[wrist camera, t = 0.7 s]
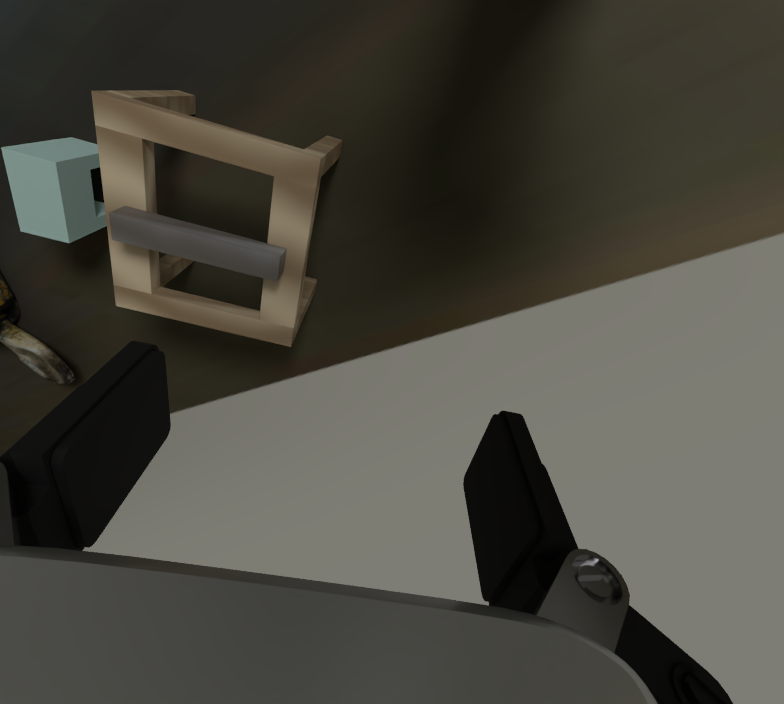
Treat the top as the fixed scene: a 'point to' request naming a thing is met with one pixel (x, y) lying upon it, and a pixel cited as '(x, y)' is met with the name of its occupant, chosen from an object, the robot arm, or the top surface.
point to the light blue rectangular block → (55, 188)
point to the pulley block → (29, 342)
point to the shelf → (224, 145)
